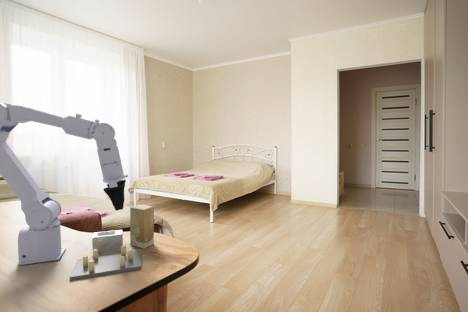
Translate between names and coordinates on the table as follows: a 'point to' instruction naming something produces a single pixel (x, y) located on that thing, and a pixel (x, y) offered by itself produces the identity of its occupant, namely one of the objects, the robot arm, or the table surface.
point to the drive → (107, 241)
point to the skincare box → (142, 225)
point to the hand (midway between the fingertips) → (120, 206)
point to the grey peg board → (106, 264)
